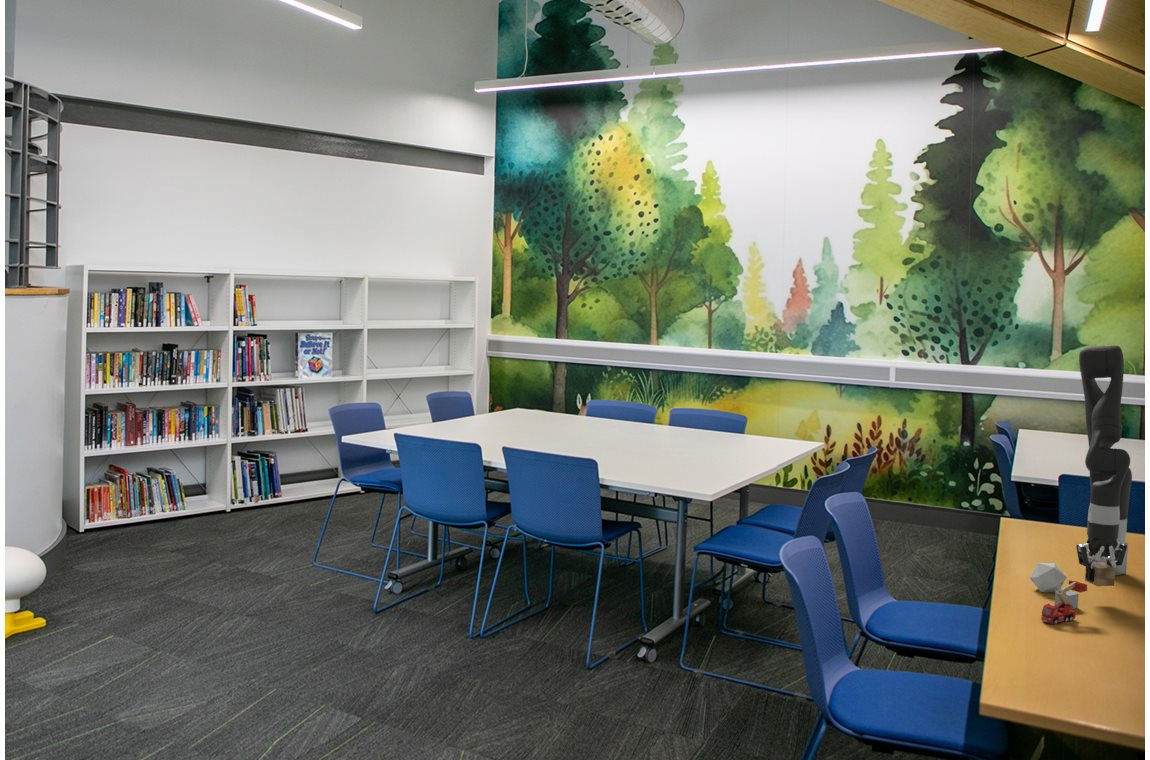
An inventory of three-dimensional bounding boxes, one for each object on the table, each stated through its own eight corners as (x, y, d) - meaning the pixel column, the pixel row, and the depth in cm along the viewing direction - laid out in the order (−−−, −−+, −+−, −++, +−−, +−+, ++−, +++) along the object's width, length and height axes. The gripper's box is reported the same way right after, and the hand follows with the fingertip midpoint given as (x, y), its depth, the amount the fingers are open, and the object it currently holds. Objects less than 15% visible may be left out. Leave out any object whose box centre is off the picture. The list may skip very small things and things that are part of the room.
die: (1062, 599, 263) (1076, 570, 266) (1034, 582, 264) (1048, 553, 267) (1047, 601, 271) (1061, 572, 273) (1020, 584, 272) (1034, 556, 275)
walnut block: (1101, 579, 262) (1102, 562, 262) (1113, 585, 257) (1115, 567, 257) (1084, 580, 261) (1086, 563, 261) (1097, 586, 256) (1098, 568, 256)
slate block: (1064, 603, 258) (1065, 589, 258) (1077, 608, 254) (1078, 593, 254) (1054, 605, 256) (1055, 591, 256) (1068, 610, 252) (1069, 595, 252)
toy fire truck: (1039, 621, 243) (1041, 584, 242) (1073, 614, 249) (1076, 578, 248) (1051, 625, 240) (1053, 588, 239) (1085, 618, 246) (1088, 582, 245)
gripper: (1117, 516, 262) (1113, 575, 264) (1070, 517, 260) (1066, 577, 262) (1137, 522, 255) (1132, 584, 256) (1088, 524, 253) (1084, 586, 254)
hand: (1099, 580), depth 259 cm, fingers closed on walnut block, 5 cm apart
